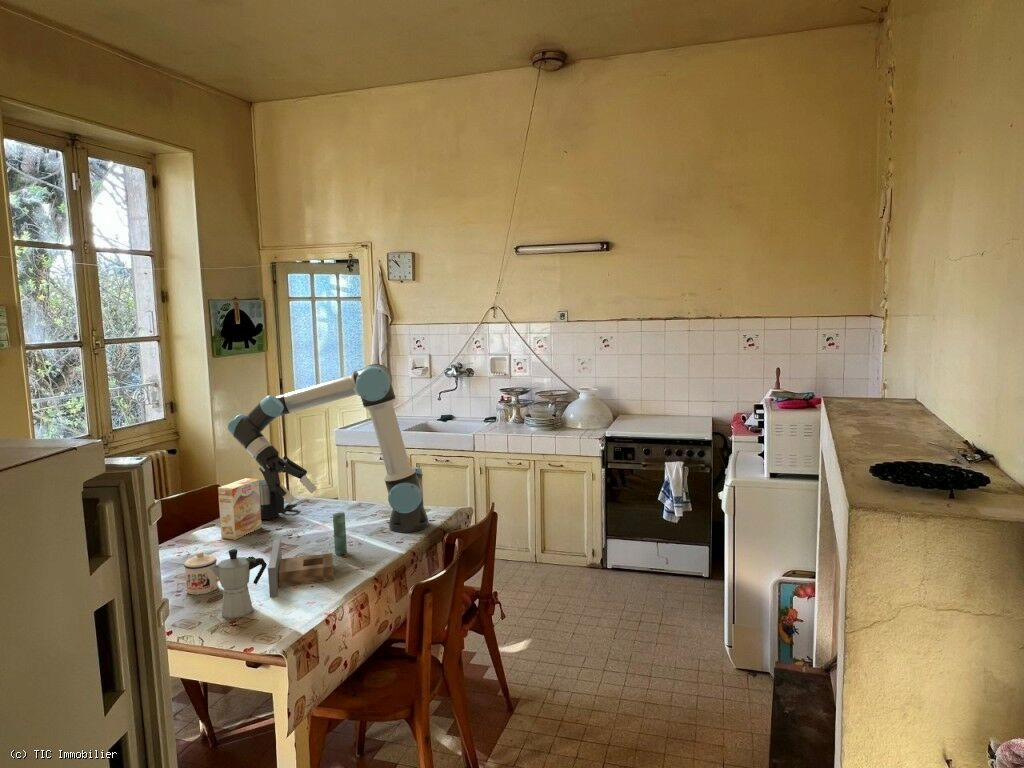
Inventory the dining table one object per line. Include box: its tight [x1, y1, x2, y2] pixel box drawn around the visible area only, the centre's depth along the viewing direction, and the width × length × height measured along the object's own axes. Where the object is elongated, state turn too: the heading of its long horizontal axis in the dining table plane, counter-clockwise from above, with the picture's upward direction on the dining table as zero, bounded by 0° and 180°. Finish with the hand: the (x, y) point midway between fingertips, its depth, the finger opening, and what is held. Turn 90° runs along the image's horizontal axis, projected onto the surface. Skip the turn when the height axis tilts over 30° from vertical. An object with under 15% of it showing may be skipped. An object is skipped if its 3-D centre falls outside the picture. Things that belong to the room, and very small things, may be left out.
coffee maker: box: [209, 548, 268, 620], centre depth 192 cm, size 15×9×18 cm, turn 114°
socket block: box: [279, 553, 335, 588], centre depth 217 cm, size 16×12×4 cm
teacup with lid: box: [183, 551, 220, 596], centre depth 209 cm, size 12×9×12 cm
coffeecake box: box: [217, 477, 263, 541], centre depth 261 cm, size 15×7×20 cm, turn 161°
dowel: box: [332, 512, 348, 556], centre depth 236 cm, size 4×4×14 cm
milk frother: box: [259, 479, 298, 520], centre depth 284 cm, size 14×16×15 cm
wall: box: [267, 538, 283, 599], centre depth 214 cm, size 2×26×9 cm, turn 15°
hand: (303, 496), depth 238 cm, fingers open, 13 cm apart
